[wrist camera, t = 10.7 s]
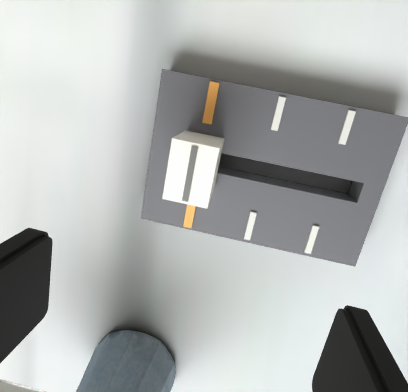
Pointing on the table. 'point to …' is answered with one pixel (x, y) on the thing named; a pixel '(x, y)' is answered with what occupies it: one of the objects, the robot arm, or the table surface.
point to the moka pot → (129, 365)
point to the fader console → (279, 155)
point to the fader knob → (192, 168)
